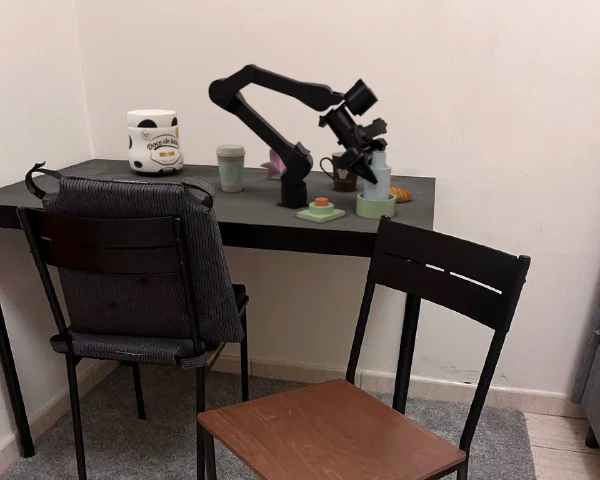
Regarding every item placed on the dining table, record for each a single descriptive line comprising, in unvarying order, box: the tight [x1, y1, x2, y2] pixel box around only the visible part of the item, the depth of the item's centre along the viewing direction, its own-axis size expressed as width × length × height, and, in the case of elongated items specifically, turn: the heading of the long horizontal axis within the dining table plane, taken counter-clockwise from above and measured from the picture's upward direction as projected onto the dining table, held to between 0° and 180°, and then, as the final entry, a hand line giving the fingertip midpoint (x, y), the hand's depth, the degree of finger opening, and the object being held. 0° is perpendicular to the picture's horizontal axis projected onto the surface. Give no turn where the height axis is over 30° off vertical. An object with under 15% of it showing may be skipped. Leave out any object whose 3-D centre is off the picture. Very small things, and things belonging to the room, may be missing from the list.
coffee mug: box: [319, 151, 359, 193], centre depth 182 cm, size 12×9×10 cm
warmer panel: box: [296, 201, 346, 224], centre depth 157 cm, size 8×10×3 cm
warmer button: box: [314, 197, 329, 206], centre depth 156 cm, size 3×3×2 cm
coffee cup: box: [215, 144, 247, 193], centre depth 178 cm, size 8×8×12 cm
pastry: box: [389, 185, 412, 203], centre depth 173 cm, size 9×7×4 cm
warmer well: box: [355, 191, 397, 220], centre depth 160 cm, size 10×10×4 cm
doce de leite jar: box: [126, 109, 185, 176], centre depth 196 cm, size 17×17×18 cm
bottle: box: [363, 151, 392, 200], centre depth 157 cm, size 6×6×14 cm
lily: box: [259, 148, 287, 180], centre depth 190 cm, size 12×12×10 cm
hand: (382, 180), depth 156 cm, fingers open, 7 cm apart
